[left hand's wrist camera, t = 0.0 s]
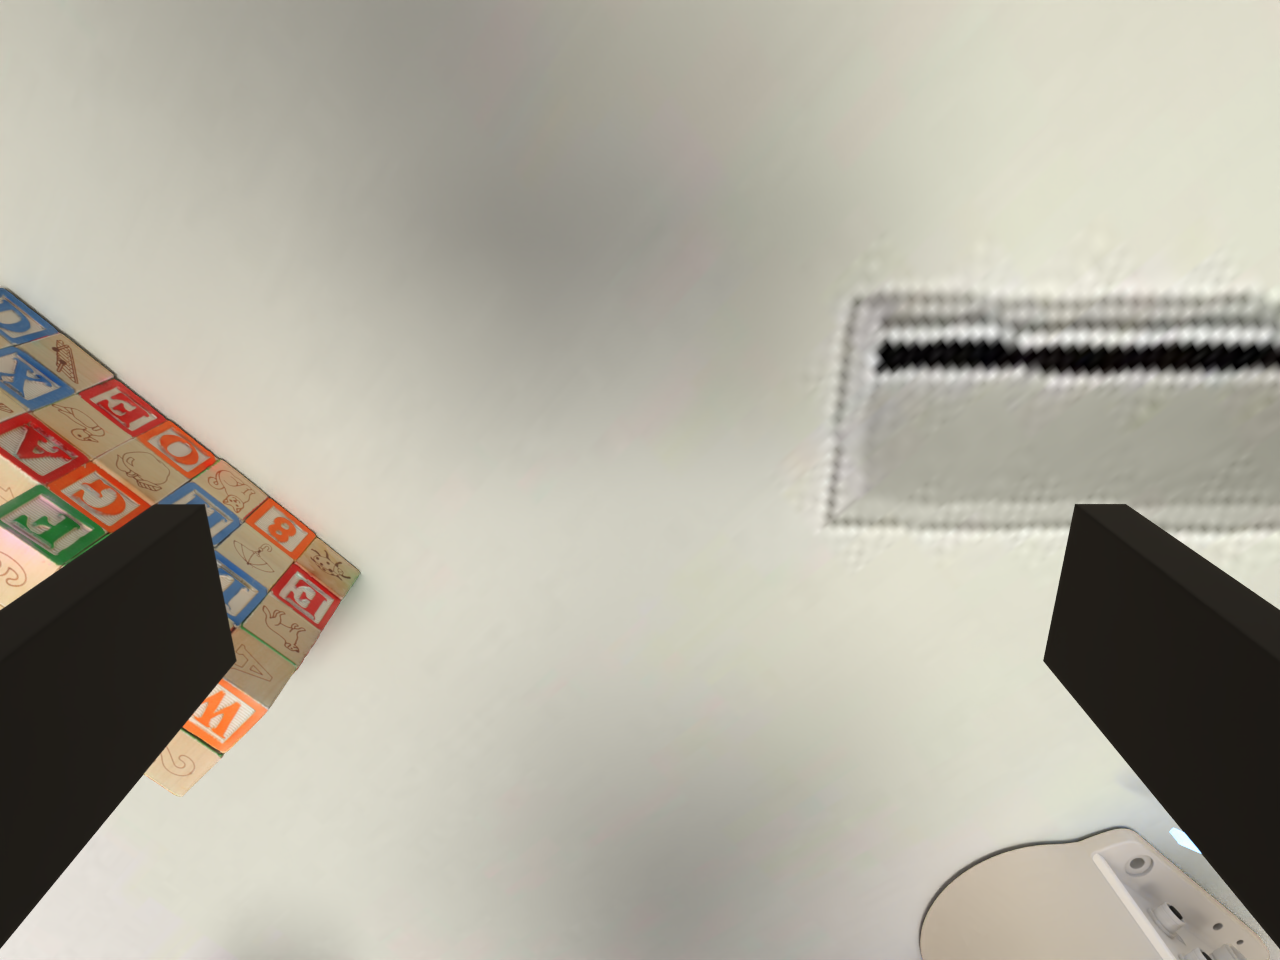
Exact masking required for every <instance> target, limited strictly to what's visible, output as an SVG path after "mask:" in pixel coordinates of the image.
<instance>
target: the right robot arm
mask: <svg viewBox="0 0 1280 960" xmlns="http://www.w3.org/2000/svg"><path fill="white" fill-rule="evenodd" d="M1170 833H1171V834H1172V835H1173V837H1174V838H1175V839H1176V840H1177V842H1178V843H1179V844H1180V845H1182V846H1185V847H1187V848H1189V849H1192V850H1194V851H1196V852H1199V853H1201V852H1200V851H1199V850H1198V849H1197V847H1196V846H1195V845H1194V844H1193V843H1192V841H1191V840H1190V839H1189V838H1188V836H1187V835H1186V834H1185V833H1184V832H1182V831H1180V830H1177V829H1175V828H1173V829H1172V830H1171V831H1170ZM920 948H921V954H922V958H923V960H1269V956H1270V953H1269V950H1268V949H1267V947H1266V946H1265V944H1264V942H1263V941H1262V939H1261V938H1260V937H1259V936H1258V935H1257V934H1256V933H1255V932H1254V931H1252V930H1251V929H1250V928H1249V927H1248V926H1247V925H1245V924H1244V923H1243V922H1242V921H1241V920H1240V919H1238V918H1237V917H1236V916H1235V915H1234V914H1232V913H1231V912H1230V911H1229V910H1228V909H1226V908H1225V907H1224V906H1223V905H1222V904H1220V903H1219V902H1218V901H1217V900H1216V899H1215V898H1213V897H1212V896H1211V895H1210V894H1209V893H1207V892H1206V891H1205V890H1204V889H1203V888H1201V887H1200V886H1199V885H1198V884H1197V883H1196V882H1194V881H1193V880H1192V879H1191V878H1190V877H1188V876H1187V875H1186V874H1185V873H1184V872H1182V871H1181V870H1180V869H1179V868H1178V867H1176V866H1175V865H1174V864H1173V863H1172V862H1171V861H1169V860H1168V859H1167V858H1166V857H1165V856H1163V855H1162V854H1161V853H1160V852H1159V851H1157V850H1156V849H1155V848H1154V847H1153V846H1151V845H1150V844H1149V843H1148V842H1147V841H1146V840H1144V839H1143V838H1142V837H1141V836H1140V835H1138V834H1137V833H1136V832H1134V831H1133V830H1130V829H1124V828H1122V829H1114V830H1110V831H1107V832H1104V833H1101V834H1098V835H1095V836H1092V837H1089V838H1087V839H1084V840H1082V841H1079V842H1073V843H1065V844H1048V845H1036V846H1030V847H1024V848H1019V849H1015V850H1012V851H1008V852H1005V853H1002V854H999V855H996V856H994V857H991V858H989V859H987V860H985V861H983V862H981V863H979V864H977V865H975V866H974V867H972V868H970V869H969V870H967V871H966V872H964V873H963V874H961V875H960V876H959V877H957V878H956V879H955V880H954V881H952V882H951V883H950V884H949V885H948V886H947V887H946V888H945V889H944V890H943V891H942V892H941V894H940V895H939V896H938V897H937V899H936V900H935V901H934V903H933V904H932V906H931V907H930V909H929V911H928V913H927V915H926V917H925V920H924V923H923V926H922V930H921V937H920Z"/></svg>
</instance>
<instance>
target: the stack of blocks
mask: <svg viewBox="0 0 1280 960" xmlns="http://www.w3.org/2000/svg"><path fill="white" fill-rule="evenodd" d="M154 504H205V507H206V512H207V517H208V522H209V527H210V532H211V536H212V541H213V546H214V551H215V556H216V561H217V566H218V571H219V576H220V581H221V586H222V591H223V596H224V601H225V606H226V611H227V615H228V620H229V625H230V630H231V635H232V640H233V645H234V650H235V655H236V660H237V661H236V662H235V664H234V665H233V666H232V667H231V668H230V670H229V671H228V672H227V673H226V675H225V676H224V677H223V678H222V679H221V681H220V682H219V683H218V684H217V686H216V687H215V688H214V689H213V690H212V692H211V693H210V694H209V695H208V696H207V698H206V699H205V700H204V701H203V703H202V704H201V705H200V706H199V707H198V709H197V710H196V711H195V712H194V714H193V715H192V716H191V717H190V718H189V720H188V721H187V722H186V723H185V724H184V726H183V727H182V728H181V729H180V731H179V732H178V733H177V734H176V735H175V737H174V738H173V739H172V740H171V742H170V743H169V744H168V745H167V746H166V748H165V749H164V750H163V751H162V752H161V754H160V755H159V756H158V757H157V759H156V760H155V761H154V762H153V763H152V765H151V766H150V767H149V768H148V770H147V771H146V772H145V773H144V775H146V776H147V777H149V778H150V779H152V780H153V781H155V782H156V783H158V784H159V785H161V786H162V787H164V788H165V789H167V790H168V791H169V792H171V793H172V794H174V795H176V796H179V797H181V796H183V795H184V794H185V793H186V792H187V791H188V790H189V789H190V788H191V787H192V786H193V785H194V784H195V783H196V782H197V781H198V780H199V779H201V778H202V777H203V776H204V775H205V774H206V773H207V772H208V771H209V770H210V769H211V768H212V767H213V766H214V765H215V764H216V763H217V762H218V761H219V760H220V759H221V758H222V757H223V755H224V753H226V752H227V751H228V750H230V749H231V748H232V747H233V746H234V745H235V744H236V743H237V742H238V741H239V740H240V739H241V738H242V737H243V736H244V735H245V734H246V733H247V732H248V731H249V730H250V729H251V728H252V727H253V726H254V725H255V724H256V723H257V722H258V721H259V720H260V719H261V718H262V717H263V716H264V715H265V713H266V712H267V711H268V710H269V708H270V707H271V706H272V704H273V703H274V701H275V700H276V698H277V697H278V695H279V694H280V692H281V691H282V689H283V688H284V686H285V685H286V683H287V682H288V680H289V679H290V677H291V676H292V674H293V673H294V672H295V671H296V670H297V669H298V668H299V666H300V665H301V663H302V662H303V660H304V658H305V657H306V656H307V654H308V653H309V651H310V649H311V648H312V646H313V645H314V644H315V642H316V640H317V639H318V637H319V636H320V633H321V632H322V630H323V629H324V627H325V625H326V624H327V622H328V621H329V619H330V618H331V616H332V615H333V613H334V611H335V610H336V608H337V607H338V605H339V604H340V601H341V600H342V599H343V598H344V597H345V595H346V594H347V592H348V591H349V589H350V588H351V587H352V585H353V584H354V582H355V581H356V579H357V578H358V576H359V574H360V572H359V570H357V569H356V568H355V567H354V566H352V565H351V564H350V563H349V562H347V561H346V560H345V559H344V558H342V557H341V556H340V555H339V554H337V553H336V552H335V551H334V550H332V549H331V548H330V547H329V546H327V545H326V544H325V543H324V542H323V541H321V540H320V539H318V538H317V537H316V535H315V534H314V533H313V532H312V531H311V530H310V529H308V528H307V527H306V526H305V525H303V524H302V523H301V522H300V521H298V520H297V519H296V518H295V517H294V516H292V515H291V514H290V513H288V512H287V511H286V510H285V509H283V508H282V507H281V506H280V505H278V504H277V503H276V502H274V501H273V500H272V499H270V498H268V496H267V495H266V494H265V493H264V492H262V491H261V490H260V489H259V488H258V487H256V486H255V485H254V484H252V483H251V482H250V481H249V480H247V479H246V478H245V477H244V476H243V475H241V474H240V473H239V472H238V471H236V470H235V469H234V468H232V467H231V466H230V465H229V464H227V463H226V462H225V461H223V460H220V459H217V458H216V457H215V456H214V455H213V454H212V453H211V452H209V451H208V450H206V449H205V448H204V447H203V446H201V445H200V444H198V443H197V442H196V441H195V440H194V439H193V438H191V437H190V436H189V435H187V434H186V433H185V432H184V431H182V430H181V429H180V428H179V427H177V426H176V425H175V424H174V423H172V422H171V421H168V420H166V419H165V418H164V417H163V416H162V415H161V414H159V413H158V412H157V411H156V410H154V409H153V408H152V407H151V406H150V405H149V404H147V403H146V402H145V401H143V400H142V399H141V398H140V397H138V396H137V395H135V394H134V393H133V392H132V391H131V390H130V389H128V388H127V387H126V386H124V385H123V384H122V383H121V382H119V381H117V380H115V379H114V376H113V374H112V373H111V372H110V371H108V370H107V369H106V368H105V367H103V366H102V365H101V364H99V363H98V362H97V361H96V360H94V359H93V358H92V357H91V356H89V355H88V354H87V353H86V352H84V351H83V350H82V349H81V348H79V347H78V346H77V345H76V344H74V343H73V342H72V341H71V340H70V339H68V338H67V337H66V336H64V335H63V334H61V333H59V332H58V331H57V330H56V329H55V328H54V327H53V326H52V325H50V324H49V323H48V322H47V321H45V320H44V319H43V318H41V317H40V316H39V315H38V314H37V313H35V312H34V311H33V310H31V309H30V308H28V307H27V306H26V305H25V304H24V303H23V302H21V301H20V300H18V299H17V298H16V297H15V296H14V295H12V294H11V293H10V292H8V291H7V290H5V289H4V288H0V610H1V609H3V608H4V607H6V606H7V605H8V604H10V603H11V602H13V601H14V600H16V599H17V598H19V597H20V596H21V595H23V594H24V593H26V592H27V591H29V590H30V589H32V588H33V587H35V586H36V585H37V584H39V583H40V582H42V581H43V580H45V579H46V578H48V577H49V576H51V575H52V574H53V573H55V572H56V571H58V570H59V569H61V568H62V567H64V566H65V565H67V564H68V563H69V562H71V561H72V560H74V559H75V558H77V557H78V556H80V555H81V554H83V553H84V552H85V551H87V550H88V549H90V548H91V547H93V546H94V545H96V544H97V543H99V542H100V541H101V540H103V539H104V538H106V537H107V536H109V535H110V534H112V533H113V532H115V531H116V530H117V529H119V528H120V527H122V526H123V525H125V524H126V523H128V522H129V521H130V520H132V519H133V518H135V517H136V516H138V515H139V514H141V513H142V512H144V511H145V510H146V509H148V508H149V507H151V506H152V505H154Z"/></svg>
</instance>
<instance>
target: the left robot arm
mask: <svg viewBox="0 0 1280 960" xmlns="http://www.w3.org/2000/svg"><path fill="white" fill-rule="evenodd" d="M236 661H237V660H236V655H235V650H234V645H233V640H232V635H231V630H230V625H229V620H228V615H227V611H226V606H225V601H224V596H223V591H222V586H221V581H220V576H219V571H218V566H217V561H216V556H215V551H214V546H213V541H212V536H211V532H210V527H209V522H208V517H207V512H206V507H205V504H154V505H152V506H151V507H149V508H148V509H146V510H145V511H144V512H142V513H141V514H139V515H138V516H136V517H135V518H133V519H132V520H130V521H129V522H128V523H126V524H125V525H123V526H122V527H120V528H119V529H117V530H116V531H115V532H113V533H112V534H110V535H109V536H107V537H106V538H104V539H103V540H101V541H100V542H99V543H97V544H96V545H94V546H93V547H91V548H90V549H88V550H87V551H85V552H84V553H83V554H81V555H80V556H78V557H77V558H75V559H74V560H72V561H71V562H69V563H68V564H67V565H65V566H64V567H62V568H61V569H59V570H58V571H56V572H55V573H53V574H52V575H51V576H49V577H48V578H46V579H45V580H43V581H42V582H40V583H39V584H37V585H36V586H35V587H33V588H32V589H30V590H29V591H27V592H26V593H24V594H23V595H21V596H20V597H19V598H17V599H16V600H14V601H13V602H11V603H10V604H8V605H7V606H6V607H4V608H3V609H1V610H0V949H1V947H2V946H3V945H4V944H5V942H6V941H7V940H8V939H9V938H10V936H11V935H12V934H13V933H14V931H15V930H16V929H17V928H18V927H19V925H20V924H21V923H22V922H23V921H24V919H25V918H26V917H27V916H28V914H29V913H30V912H31V911H32V910H33V908H34V907H35V906H36V905H37V903H38V902H39V901H40V900H41V899H42V897H43V896H44V895H45V894H46V893H47V891H48V890H49V889H50V888H51V886H52V885H53V884H54V883H55V882H56V880H57V879H58V878H59V877H60V875H61V874H62V873H63V872H64V871H65V869H66V868H67V867H68V866H69V865H70V863H71V862H72V861H73V860H74V858H75V857H76V856H77V855H78V854H79V852H80V851H81V850H82V849H83V847H84V846H85V845H86V844H87V843H88V841H89V840H90V839H91V838H92V836H93V835H94V834H95V833H96V832H97V830H98V829H99V828H100V827H101V826H102V824H103V823H104V822H105V821H106V819H107V818H108V817H109V816H110V815H111V813H112V812H113V811H114V810H115V808H116V807H117V806H118V805H119V804H120V802H121V801H122V800H123V799H124V798H125V796H126V795H127V794H128V793H129V791H130V790H131V789H132V788H133V787H134V785H135V784H136V783H137V782H138V780H139V779H140V778H141V777H142V776H143V774H144V773H145V772H146V771H147V770H148V768H149V767H150V766H151V765H152V763H153V762H154V761H155V760H156V759H157V757H158V756H159V755H160V754H161V752H162V751H163V750H164V749H165V748H166V746H167V745H168V744H169V743H170V742H171V740H172V739H173V738H174V737H175V735H176V734H177V733H178V732H179V731H180V729H181V728H182V727H183V726H184V724H185V723H186V722H187V721H188V720H189V718H190V717H191V716H192V715H193V714H194V712H195V711H196V710H197V709H198V707H199V706H200V705H201V704H202V703H203V701H204V700H205V699H206V698H207V696H208V695H209V694H210V693H211V692H212V690H213V689H214V688H215V687H216V686H217V684H218V683H219V682H220V681H221V679H222V678H223V677H224V676H225V675H226V673H227V672H228V671H229V670H230V668H231V667H232V666H233V665H234V664H235V662H236ZM1043 661H1044V662H1045V664H1046V665H1047V666H1048V667H1049V668H1050V670H1051V671H1052V672H1053V673H1054V675H1055V676H1056V677H1057V678H1058V679H1059V681H1060V682H1061V683H1062V684H1063V686H1064V687H1065V688H1066V689H1067V690H1068V692H1069V693H1070V694H1071V695H1072V696H1073V698H1074V699H1075V700H1076V701H1077V703H1078V704H1079V705H1080V706H1081V707H1082V709H1083V710H1084V711H1085V712H1086V714H1087V715H1088V716H1089V717H1090V718H1091V720H1092V721H1093V722H1094V723H1095V724H1096V726H1097V727H1098V728H1099V729H1100V731H1101V732H1102V733H1103V734H1104V735H1105V737H1106V738H1107V739H1108V740H1109V742H1110V743H1111V744H1112V745H1113V746H1114V748H1115V749H1116V750H1117V751H1118V752H1119V754H1120V755H1121V756H1122V757H1123V759H1124V760H1125V761H1126V762H1127V763H1128V765H1129V766H1130V767H1131V768H1132V770H1133V771H1134V772H1135V773H1136V774H1137V776H1138V777H1139V778H1140V779H1141V780H1142V782H1143V783H1144V784H1145V785H1146V787H1147V788H1148V789H1149V790H1150V791H1151V793H1152V794H1153V795H1154V796H1155V798H1156V799H1157V800H1158V801H1159V802H1160V804H1161V805H1162V806H1163V807H1164V808H1165V810H1166V811H1167V812H1168V813H1169V815H1170V816H1171V817H1172V818H1173V819H1174V821H1175V822H1176V823H1177V824H1178V826H1179V827H1180V828H1181V829H1182V830H1183V832H1184V833H1185V834H1186V835H1187V836H1188V838H1189V839H1190V840H1191V841H1192V843H1193V844H1194V845H1195V846H1196V847H1197V849H1198V850H1199V851H1200V852H1201V854H1202V855H1203V856H1204V857H1205V858H1206V860H1207V861H1208V862H1209V863H1210V865H1211V866H1212V867H1213V868H1214V869H1215V871H1216V872H1217V873H1218V874H1219V875H1220V877H1221V878H1222V879H1223V880H1224V882H1225V883H1226V884H1227V885H1228V886H1229V888H1230V889H1231V890H1232V891H1233V893H1234V894H1235V895H1236V896H1237V897H1238V899H1239V900H1240V901H1241V902H1242V903H1243V905H1244V906H1245V907H1246V908H1247V910H1248V911H1249V912H1250V913H1251V914H1252V916H1253V917H1254V918H1255V919H1256V921H1257V922H1258V923H1259V924H1260V925H1261V927H1262V928H1263V929H1264V930H1265V931H1266V933H1267V934H1268V935H1269V936H1270V938H1271V939H1272V940H1273V941H1274V942H1275V944H1276V945H1277V946H1278V947H1279V949H1280V610H1279V609H1277V608H1276V607H1274V606H1273V605H1272V604H1270V603H1269V602H1267V601H1266V600H1264V599H1263V598H1261V597H1260V596H1258V595H1257V594H1256V593H1254V592H1253V591H1251V590H1250V589H1248V588H1247V587H1245V586H1244V585H1243V584H1241V583H1240V582H1238V581H1237V580H1235V579H1234V578H1232V577H1231V576H1229V575H1228V574H1227V573H1225V572H1224V571H1222V570H1221V569H1219V568H1218V567H1216V566H1215V565H1213V564H1212V563H1211V562H1209V561H1208V560H1206V559H1205V558H1203V557H1202V556H1200V555H1199V554H1197V553H1196V552H1195V551H1193V550H1192V549H1190V548H1189V547H1187V546H1186V545H1184V544H1183V543H1181V542H1180V541H1179V540H1177V539H1176V538H1174V537H1173V536H1171V535H1170V534H1168V533H1167V532H1165V531H1164V530H1163V529H1161V528H1160V527H1158V526H1157V525H1155V524H1154V523H1152V522H1151V521H1150V520H1148V519H1147V518H1145V517H1144V516H1142V515H1141V514H1139V513H1138V512H1136V511H1135V510H1134V509H1132V508H1131V507H1129V506H1128V505H1126V504H1075V507H1074V512H1073V517H1072V522H1071V527H1070V532H1069V536H1068V541H1067V546H1066V551H1065V556H1064V561H1063V566H1062V571H1061V576H1060V581H1059V586H1058V591H1057V596H1056V601H1055V606H1054V611H1053V615H1052V620H1051V625H1050V630H1049V635H1048V640H1047V645H1046V650H1045V655H1044V660H1043Z"/></svg>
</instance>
